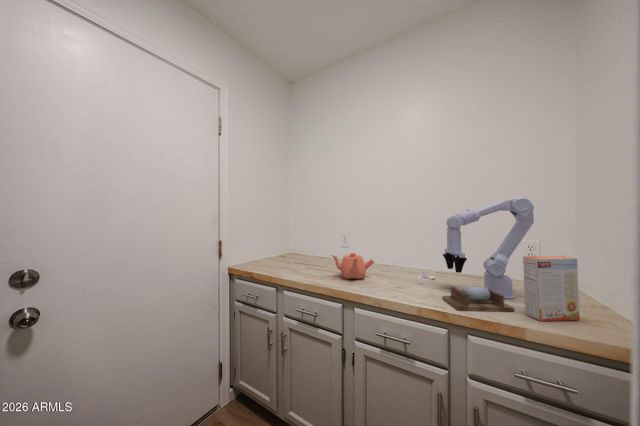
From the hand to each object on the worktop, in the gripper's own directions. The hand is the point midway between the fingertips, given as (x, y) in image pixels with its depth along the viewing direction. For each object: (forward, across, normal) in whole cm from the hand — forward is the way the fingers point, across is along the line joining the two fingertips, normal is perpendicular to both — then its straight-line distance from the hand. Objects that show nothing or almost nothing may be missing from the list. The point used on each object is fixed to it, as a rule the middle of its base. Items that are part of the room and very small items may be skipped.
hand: (454, 270), depth 108 cm
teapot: (+10, -21, -46) cm, 51 cm away
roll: (+7, +18, -1) cm, 19 cm away
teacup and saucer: (+10, -20, -5) cm, 23 cm away
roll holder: (+9, +18, -1) cm, 20 cm away
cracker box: (+10, +28, +18) cm, 35 cm away
